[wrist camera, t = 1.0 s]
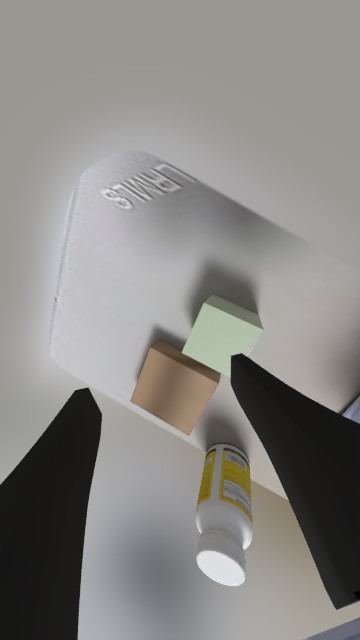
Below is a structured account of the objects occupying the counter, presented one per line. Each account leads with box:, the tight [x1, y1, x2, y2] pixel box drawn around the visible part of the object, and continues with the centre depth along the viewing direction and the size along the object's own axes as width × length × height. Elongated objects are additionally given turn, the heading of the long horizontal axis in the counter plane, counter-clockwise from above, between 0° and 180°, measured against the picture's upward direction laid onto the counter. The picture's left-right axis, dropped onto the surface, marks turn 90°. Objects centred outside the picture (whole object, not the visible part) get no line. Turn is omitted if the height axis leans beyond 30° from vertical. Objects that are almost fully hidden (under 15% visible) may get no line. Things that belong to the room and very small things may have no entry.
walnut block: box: [130, 339, 221, 436], centre depth 23 cm, size 8×8×3 cm
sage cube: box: [182, 294, 263, 378], centre depth 19 cm, size 5×5×5 cm
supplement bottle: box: [195, 444, 253, 586], centre depth 21 cm, size 5×5×10 cm
